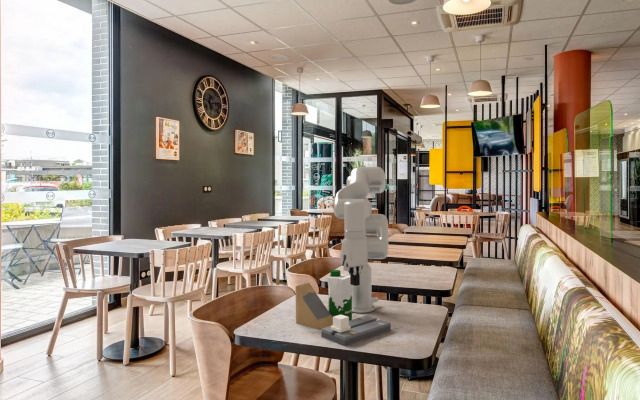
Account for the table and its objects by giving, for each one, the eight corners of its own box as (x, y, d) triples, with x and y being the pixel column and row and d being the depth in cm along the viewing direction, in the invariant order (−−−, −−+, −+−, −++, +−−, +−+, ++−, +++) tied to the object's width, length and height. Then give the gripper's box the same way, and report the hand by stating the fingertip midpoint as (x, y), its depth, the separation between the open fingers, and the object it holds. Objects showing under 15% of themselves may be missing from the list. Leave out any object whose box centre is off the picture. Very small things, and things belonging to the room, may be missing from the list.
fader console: (367, 322, 179) (367, 315, 179) (390, 330, 170) (390, 322, 170) (321, 336, 163) (321, 328, 163) (344, 345, 154) (344, 336, 154)
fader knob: (341, 329, 165) (340, 313, 165) (350, 332, 161) (350, 317, 161) (330, 332, 162) (330, 316, 161) (340, 335, 158) (340, 319, 158)
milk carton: (335, 316, 188) (335, 268, 187) (355, 319, 183) (355, 270, 182) (324, 321, 181) (324, 271, 180) (344, 325, 176) (344, 274, 175)
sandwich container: (326, 331, 170) (326, 291, 169) (295, 323, 179) (295, 285, 179) (339, 325, 176) (339, 287, 176) (309, 318, 186) (308, 282, 185)
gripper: (361, 231, 172) (361, 279, 174) (332, 236, 163) (332, 286, 164) (376, 233, 167) (376, 283, 168) (347, 238, 157) (347, 290, 158)
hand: (355, 284), depth 166 cm, fingers closed
